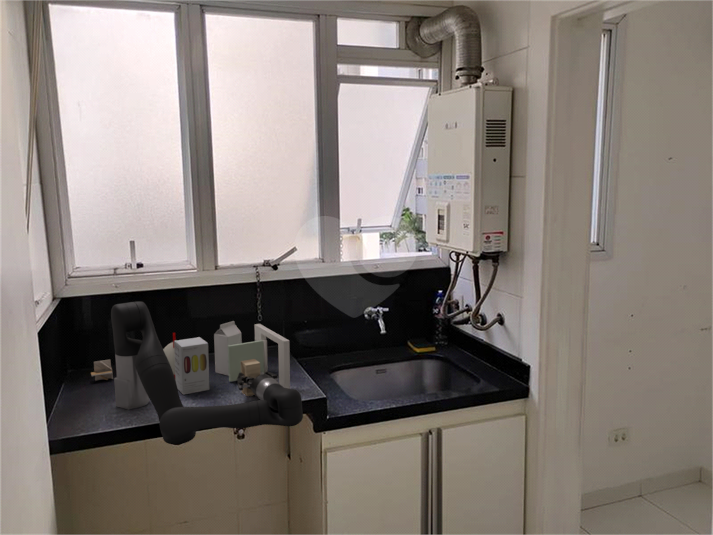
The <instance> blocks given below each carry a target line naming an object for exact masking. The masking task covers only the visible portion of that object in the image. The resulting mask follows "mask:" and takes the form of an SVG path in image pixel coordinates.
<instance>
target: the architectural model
mask: <svg viewBox="0 0 713 535" xmlns="http://www.w3.org/2000/svg"><path fill="white" fill-rule="evenodd" d="M93 369H94V370H93V372H92V371H91V372H90V375H91V377H94V380H95V381H101V380H106V381H108V380H109V379H111V380H114V377H113V368H112V363H111V359H105V360H97V361H93Z"/></svg>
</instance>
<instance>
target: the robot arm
mask: <svg viewBox="0 0 713 535" xmlns="http://www.w3.org/2000/svg"><path fill="white" fill-rule="evenodd" d="M110 319H111V327H112V335H113V336H112V337H113V345H114V356H115V370H116V371H115V372H116V377H113V380H114V381H113V383H114V397H115V407H118V408H121V409H125V410H132V409H137V408H141V407H144V406H146V405H148V404H149V403H150V402H151V404H152V406H153V407H154V410H155V412H156V415H157V418H158V422H159V429H160V434H161V436H162V440H163V441H164V442H165V443H166V444H167V445H172V446H176V445H178V446H179V445H183V444H186V443H189V442H192V440H194V438H195V437H196V434H197V431H200V430H203V429H209V428H228V429H248V428H253V427H258V426H265V425H266V426H281V427H295V426H298V425H299V424H300V423H301V422H302V420H303V418H304V414H303V400H302V395H301V393H300V392H299V390H297V389H295V388H290V389H288V388H284V387H283V386H281V385H280V384H279V374H278V375H277V374H275V373H273V372H270V371H267V372H266V373H264V372H260V375H259V376H257V377H252V376H245V375H244V374H242V373H239V374H238V377H237V380H236V384H237V388H238V390H239V391H242V390H243V388H245V387H247V388H248V389H251V390H252V392H253V393H254V394H255V397H257V398H258V400H253V401H247V402H242V403H241V402H240V403H236V404H225V405H224V404H223V405H211V406H209V405H207V406H184V405H183V402H182V400H181V397H180V394H179V390H178V389H177V384H176V379H175V377H174V374H173V371H172V368H171V366H170V363H169V361H168V359H167V357H166V355H165V353H164V350H163V349H164V348H163V346H162V344H161V342H160V340H159V337H158V334H157V332H156V331H157V330H156V328H155V325H154V322H153V320H152V316H151V313H150V310H149V308H148V306H147V304H146V303H145V302H144V301H130V302H123V303H117V304H114V305H112V308H111V310H110ZM136 331H140V332H141V335H142V339H136V338H132V337H128V334H127V333H131V332H136ZM245 379H246V381H245ZM259 399H260V400H259ZM271 409H272V410H274V411H278V412H273V411H272V410H271Z"/></svg>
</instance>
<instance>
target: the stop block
mask: <svg viewBox="0 0 713 535" xmlns="http://www.w3.org/2000/svg"><path fill="white" fill-rule="evenodd" d="M241 373H242V374H244V375H245V376H252V377H257V376H259V375H260V362H258V361H257V360H255V359H251V360H245V361H241ZM245 381H246V379H245ZM241 393H242V395H244V394H245V395H246V396H250V397H253V396H252V395H255V394H254V393H253V392H252V390H251V389H248V388H247V387H245V388H243V390H241ZM245 395H244V396H245ZM246 396H245V397H246ZM255 396H256V395H255Z"/></svg>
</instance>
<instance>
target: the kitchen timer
mask: <svg viewBox="0 0 713 535" xmlns="http://www.w3.org/2000/svg"><path fill="white" fill-rule="evenodd" d="M176 340H177V338H176V332H172V341H171V342H170V343H168V344H167V345H166V346H165V347H164V348H163V350H164V353H165V355H166V357H167V359H168V361H169V363H170V366H171V368H172V371H173V374H174V377H175V350H174V341H176ZM175 380H176V378H175Z"/></svg>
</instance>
